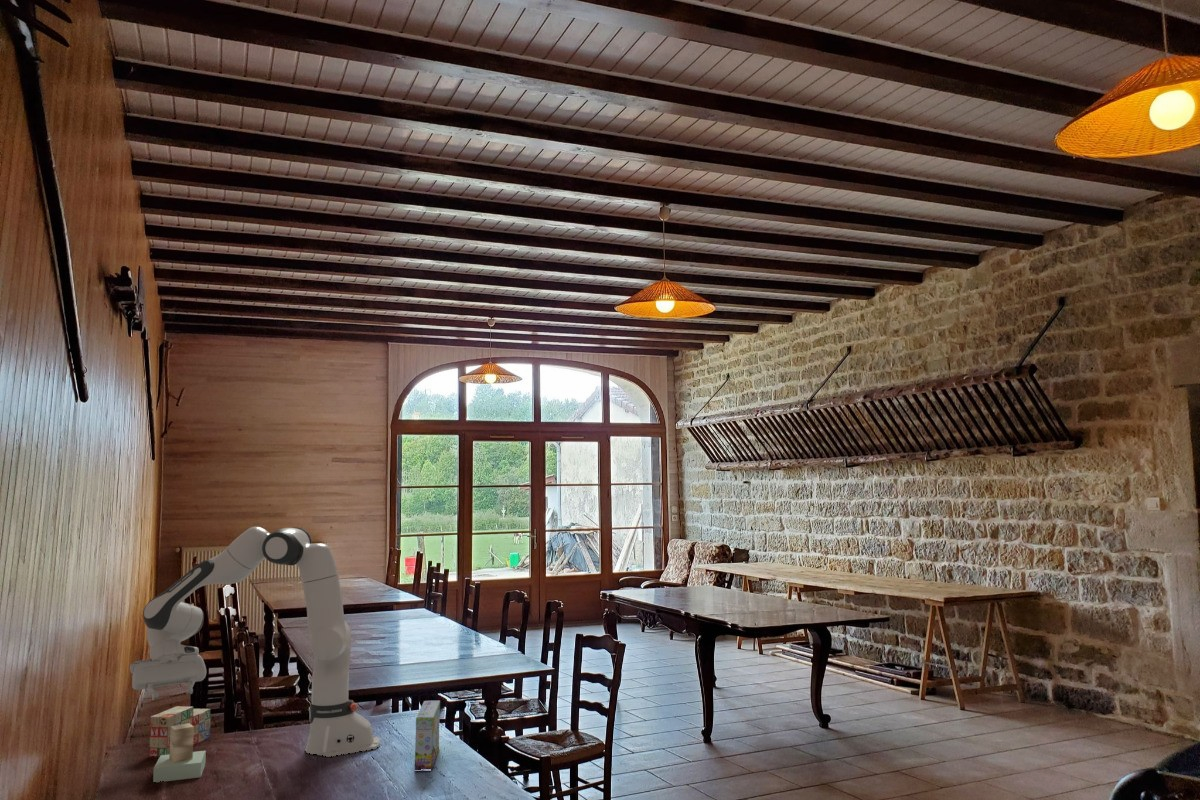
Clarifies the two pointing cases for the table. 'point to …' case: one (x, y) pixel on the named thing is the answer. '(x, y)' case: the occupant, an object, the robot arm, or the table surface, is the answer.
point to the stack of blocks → (177, 717)
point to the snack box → (427, 735)
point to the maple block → (181, 742)
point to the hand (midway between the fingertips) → (173, 695)
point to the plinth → (179, 768)
